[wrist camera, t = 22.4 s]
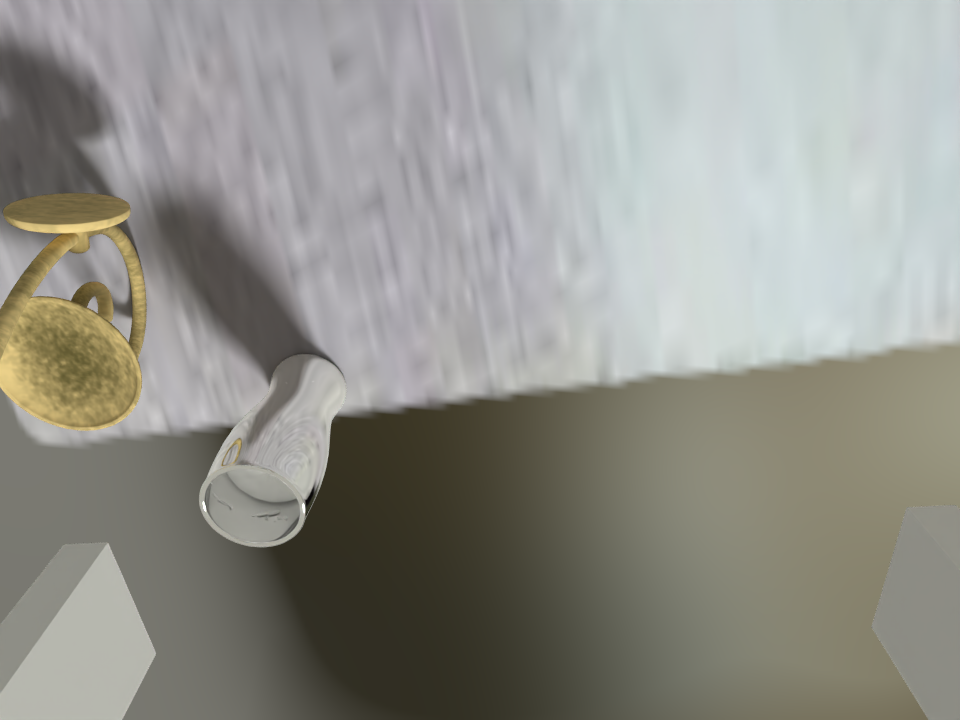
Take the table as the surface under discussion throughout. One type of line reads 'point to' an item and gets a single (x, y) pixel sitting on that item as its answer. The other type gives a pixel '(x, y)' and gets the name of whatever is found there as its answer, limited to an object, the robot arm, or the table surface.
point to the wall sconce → (71, 321)
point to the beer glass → (275, 456)
